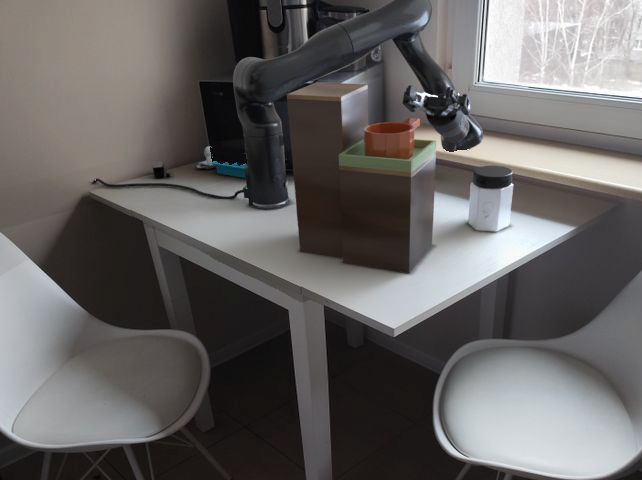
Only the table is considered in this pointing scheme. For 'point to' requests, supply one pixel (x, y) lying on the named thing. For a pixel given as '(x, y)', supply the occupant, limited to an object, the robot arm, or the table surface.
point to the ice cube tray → (230, 169)
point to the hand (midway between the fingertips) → (428, 90)
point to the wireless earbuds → (159, 170)
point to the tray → (358, 159)
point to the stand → (354, 185)
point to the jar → (490, 198)
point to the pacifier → (208, 161)
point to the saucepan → (390, 139)
